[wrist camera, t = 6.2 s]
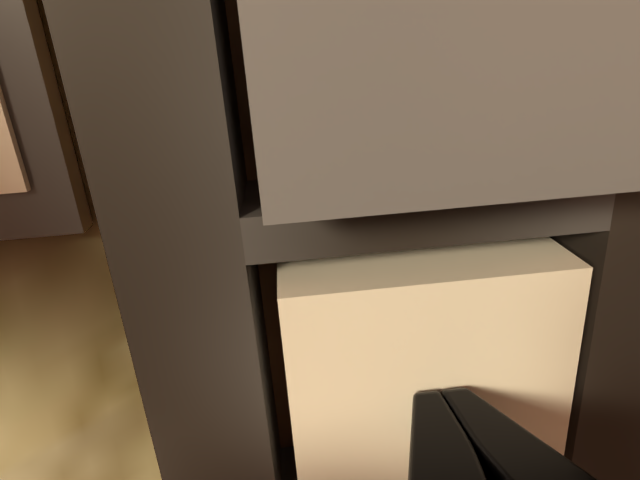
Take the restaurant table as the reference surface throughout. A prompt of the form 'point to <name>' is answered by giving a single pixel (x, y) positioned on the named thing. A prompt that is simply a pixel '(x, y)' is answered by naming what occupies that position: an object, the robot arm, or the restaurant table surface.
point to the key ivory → (426, 345)
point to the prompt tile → (34, 135)
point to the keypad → (277, 245)
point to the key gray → (439, 103)
